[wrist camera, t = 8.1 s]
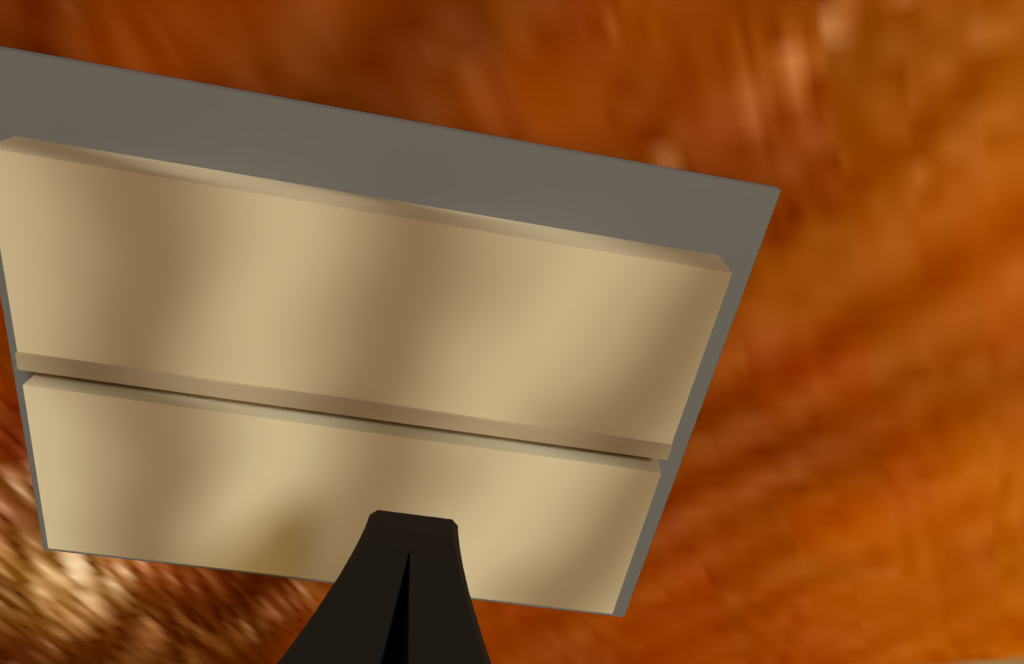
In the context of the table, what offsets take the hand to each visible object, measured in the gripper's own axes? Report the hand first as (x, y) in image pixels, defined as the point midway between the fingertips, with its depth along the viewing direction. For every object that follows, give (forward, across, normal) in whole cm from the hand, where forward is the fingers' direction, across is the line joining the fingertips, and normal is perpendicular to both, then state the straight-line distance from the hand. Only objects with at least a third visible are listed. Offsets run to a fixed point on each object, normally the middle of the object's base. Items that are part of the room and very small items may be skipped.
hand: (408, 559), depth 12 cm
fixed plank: (+9, +2, 0) cm, 10 cm away
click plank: (+9, +2, +7) cm, 11 cm away
